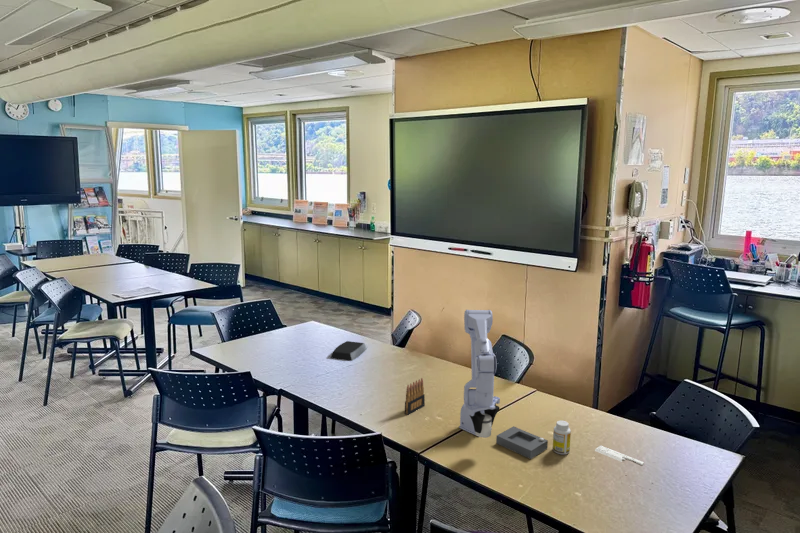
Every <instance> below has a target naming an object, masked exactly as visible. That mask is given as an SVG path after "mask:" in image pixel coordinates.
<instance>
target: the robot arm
mask: <svg viewBox="0 0 800 533" xmlns="http://www.w3.org/2000/svg"><path fill="white" fill-rule="evenodd" d="M463 314H464V315H463V316H464V317H463V319H464V324H463V325H464V332H465V333H466V334H468V335H469V337H470V344H471V345H470V349H471V350H470V355H471V358H470V359H471V365H470V366H471V379H470V380H468V381H467V382H466V383H465V384H464V387H463V404H462V406H461V408H460V413H459V415H460V417H459V419H460V420H459V423H460V424H459V426H458V428H459V429H461V430H464V431H465V432H467V433H470V434H472V435H474V436H477V435H476V434H475V432H477V433H481V430H482V423H483V420H484V417H485V415H483V414H481V413H485V414H489V415H490V416H491V417H492V424H491V431H492V430H493V428H492V427H493V424H494V421H495V418H496V416H497V413H498V412H499V411H500V406H498V405H499V404H500V403H501V402H500V401H501V400H500V399H501V397H499V396H494V388H495V374H496V373H497V365H498V364H497V357H496V356H497V355H495V353H494V352H493V344H492V341H491V340H490V339H489V338H488V334H489V333H490V332H491V330H492V326H493V320H494V319H493V311H492V310H491V309H465V310H464V313H463ZM477 437H478V436H477Z"/></svg>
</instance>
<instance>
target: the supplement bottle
mask: <svg viewBox="0 0 800 533" xmlns="http://www.w3.org/2000/svg"><path fill="white" fill-rule="evenodd" d="M569 424H570V423H569V422H568V421H565V420H557V421H556V424H555V426H554V427H553V436H552V450H553V453H555V454H558V455H567V454H569V453H570V450H571V436H572V435H571V434H572V433H571V432H572V431H571V428H570V425H569Z"/></svg>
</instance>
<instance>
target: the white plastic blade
mask: <svg viewBox="0 0 800 533" xmlns="http://www.w3.org/2000/svg"><path fill="white" fill-rule="evenodd" d="M594 452H596V453H599V454H601V455H603V456H606V457H609V458H610V459H614V460H615V461H618V462H621V463H623V461H626V460H628V461H631V462H633V461H634V462H633V463H635V462H636V464H638V465H640V466H643V465H645V462H644V461H641V460H639V459H637V458H635V457H631V456H629V455H626V454H624V453H621V452H618V451H616V450H614V449H611V448H608V447H606V446H603V445H598V446H597V447H596V448H595V449H594Z"/></svg>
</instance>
